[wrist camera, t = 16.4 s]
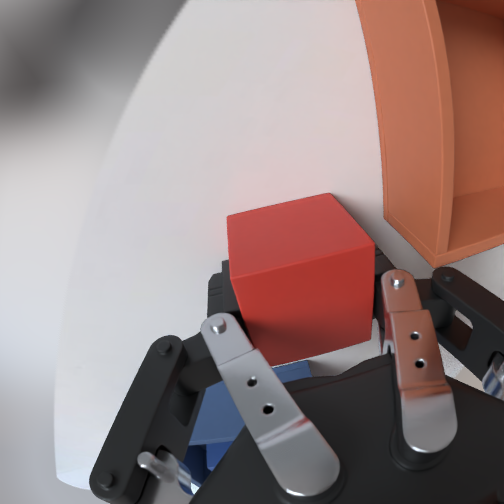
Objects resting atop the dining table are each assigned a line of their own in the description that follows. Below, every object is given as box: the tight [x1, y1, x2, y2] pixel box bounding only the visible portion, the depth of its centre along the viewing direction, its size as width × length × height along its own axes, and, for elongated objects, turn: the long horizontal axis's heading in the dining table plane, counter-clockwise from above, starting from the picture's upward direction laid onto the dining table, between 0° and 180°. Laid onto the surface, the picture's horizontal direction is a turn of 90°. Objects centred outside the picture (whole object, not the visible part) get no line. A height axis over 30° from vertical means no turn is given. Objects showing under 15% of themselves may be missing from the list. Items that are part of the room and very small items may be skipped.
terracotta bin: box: [355, 0, 504, 269], centre depth 9 cm, size 11×11×4 cm
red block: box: [227, 193, 375, 367], centre depth 12 cm, size 5×5×5 cm
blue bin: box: [183, 360, 312, 488], centre depth 19 cm, size 11×11×4 cm
